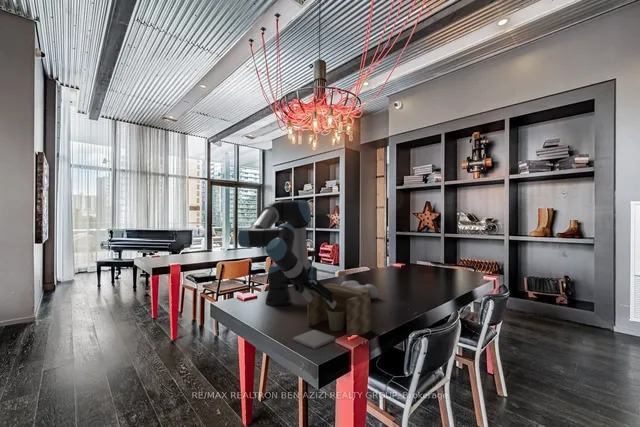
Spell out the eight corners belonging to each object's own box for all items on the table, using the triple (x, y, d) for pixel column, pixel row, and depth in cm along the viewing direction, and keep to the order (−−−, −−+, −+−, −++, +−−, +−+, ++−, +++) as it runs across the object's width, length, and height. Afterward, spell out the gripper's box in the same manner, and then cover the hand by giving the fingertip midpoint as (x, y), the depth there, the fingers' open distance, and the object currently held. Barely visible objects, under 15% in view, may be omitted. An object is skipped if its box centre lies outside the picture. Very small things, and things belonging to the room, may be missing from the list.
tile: (314, 348, 106) (314, 346, 106) (293, 340, 115) (293, 337, 115) (335, 339, 115) (335, 336, 115) (314, 331, 123) (314, 329, 123)
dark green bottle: (318, 291, 197) (318, 259, 198) (309, 294, 191) (309, 261, 192) (308, 289, 204) (308, 258, 205) (299, 291, 197) (299, 260, 198)
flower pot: (347, 325, 131) (347, 306, 132) (347, 333, 122) (347, 312, 122) (326, 324, 132) (326, 305, 132) (325, 332, 123) (325, 312, 123)
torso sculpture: (380, 302, 177) (352, 288, 203) (381, 285, 176) (353, 273, 202) (359, 306, 169) (333, 290, 196) (360, 288, 169) (334, 275, 195)
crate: (349, 340, 114) (348, 297, 115) (307, 325, 131) (307, 288, 131) (370, 330, 125) (370, 290, 125) (329, 317, 142) (329, 283, 142)
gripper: (270, 275, 117) (298, 304, 127) (313, 283, 100) (341, 317, 110) (280, 261, 121) (306, 290, 131) (323, 266, 104) (349, 300, 114)
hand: (322, 302), depth 120 cm, fingers open, 13 cm apart
